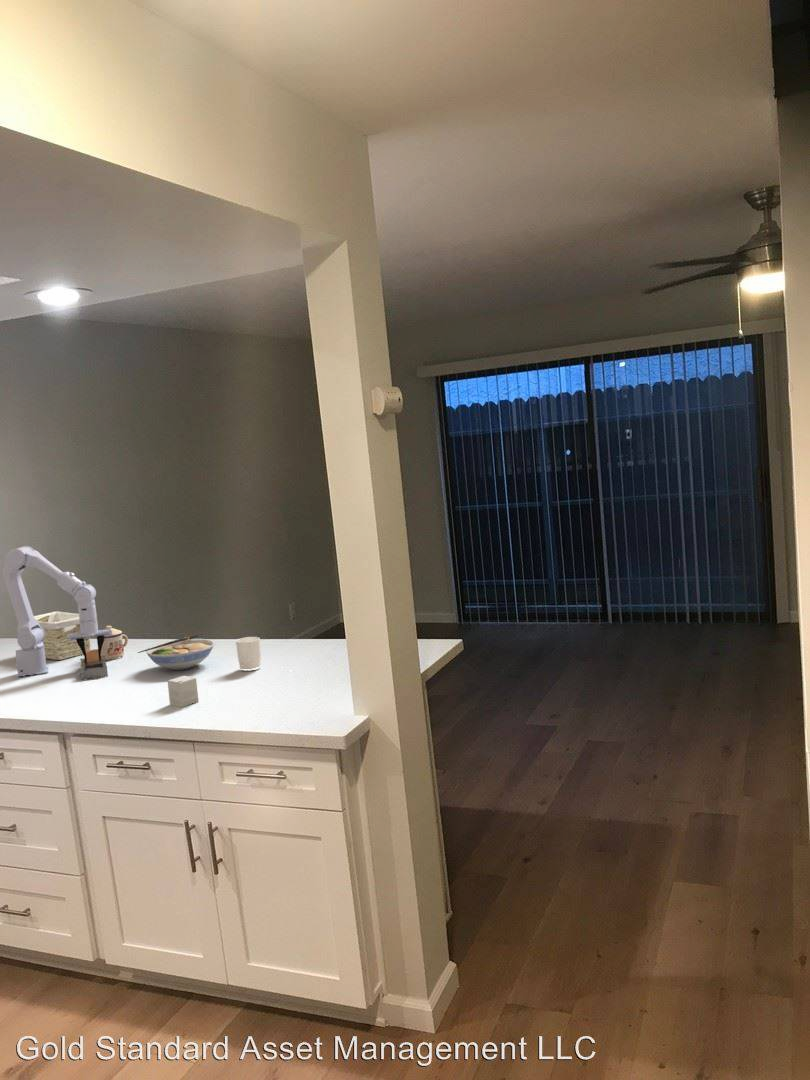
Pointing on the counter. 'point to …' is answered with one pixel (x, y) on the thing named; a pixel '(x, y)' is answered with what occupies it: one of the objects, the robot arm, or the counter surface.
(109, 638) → the teacup with lid
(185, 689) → the skincare box
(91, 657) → the orange brown block
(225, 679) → the counter surface
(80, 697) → the counter surface
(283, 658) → the counter surface
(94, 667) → the grey slotted board
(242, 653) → the white cup
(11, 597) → the robot arm
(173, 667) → the ramen bowl
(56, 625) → the storage basket
